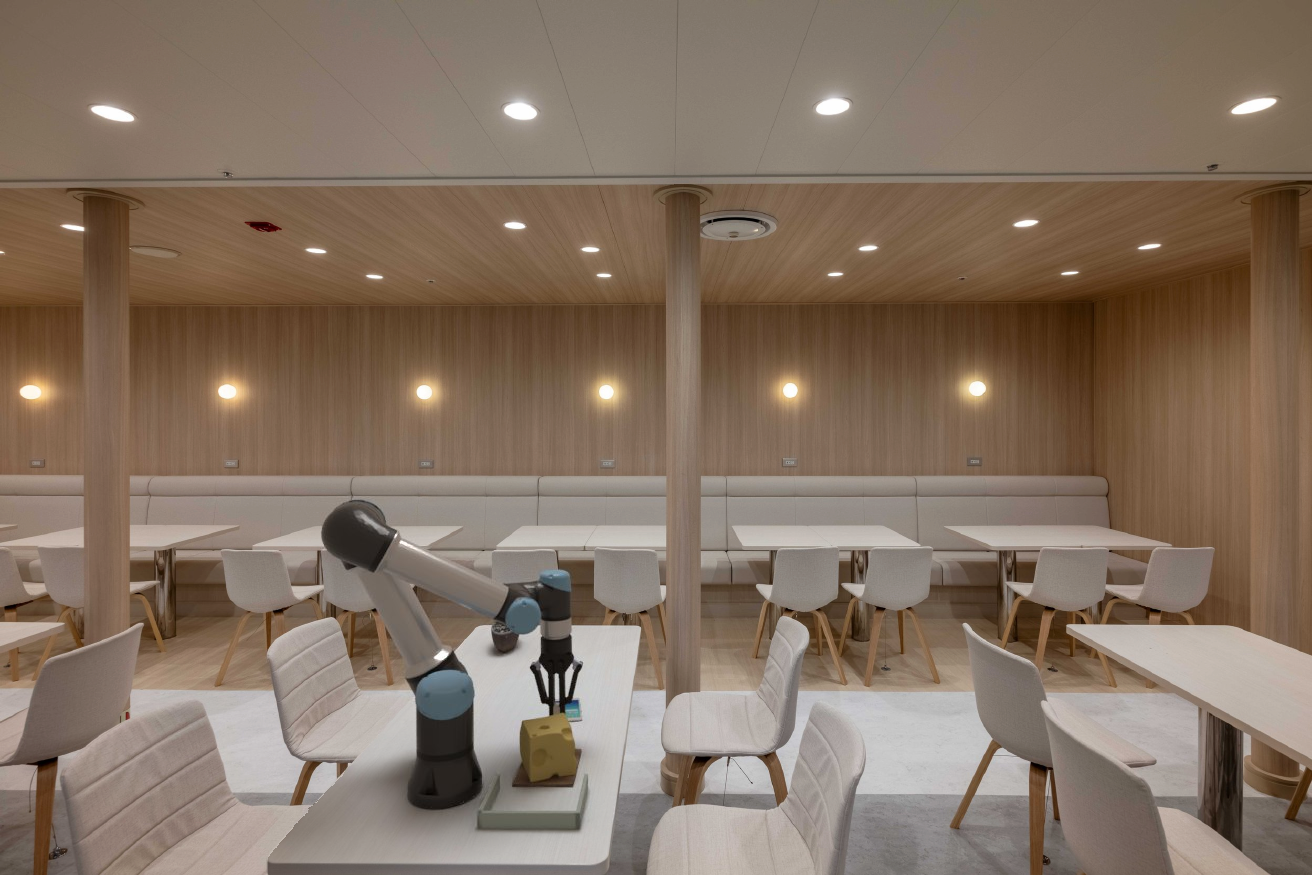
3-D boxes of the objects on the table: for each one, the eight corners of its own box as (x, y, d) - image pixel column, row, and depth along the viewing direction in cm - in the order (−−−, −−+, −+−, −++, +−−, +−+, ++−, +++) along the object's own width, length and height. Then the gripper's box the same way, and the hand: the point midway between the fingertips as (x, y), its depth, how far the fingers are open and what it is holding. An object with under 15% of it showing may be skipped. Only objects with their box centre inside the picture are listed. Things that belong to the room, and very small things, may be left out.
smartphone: (553, 721, 176) (553, 698, 191) (553, 724, 176) (553, 701, 191) (582, 719, 177) (579, 697, 192) (582, 722, 177) (579, 700, 192)
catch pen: (579, 828, 129) (579, 812, 129) (477, 828, 129) (477, 812, 129) (588, 787, 144) (588, 773, 144) (496, 787, 144) (496, 773, 144)
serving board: (572, 786, 144) (572, 783, 144) (512, 786, 144) (512, 783, 144) (581, 751, 160) (581, 748, 160) (526, 751, 160) (526, 748, 160)
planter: (514, 638, 248) (514, 584, 248) (537, 649, 235) (536, 592, 235) (476, 646, 239) (476, 590, 239) (497, 658, 226) (497, 599, 226)
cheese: (576, 775, 148) (576, 729, 148) (527, 784, 144) (527, 737, 144) (565, 754, 157) (565, 711, 157) (518, 762, 154) (518, 718, 153)
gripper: (584, 629, 168) (586, 724, 168) (532, 630, 168) (533, 724, 168) (581, 639, 160) (582, 738, 160) (526, 639, 160) (527, 738, 161)
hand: (557, 731), depth 164 cm, fingers closed
